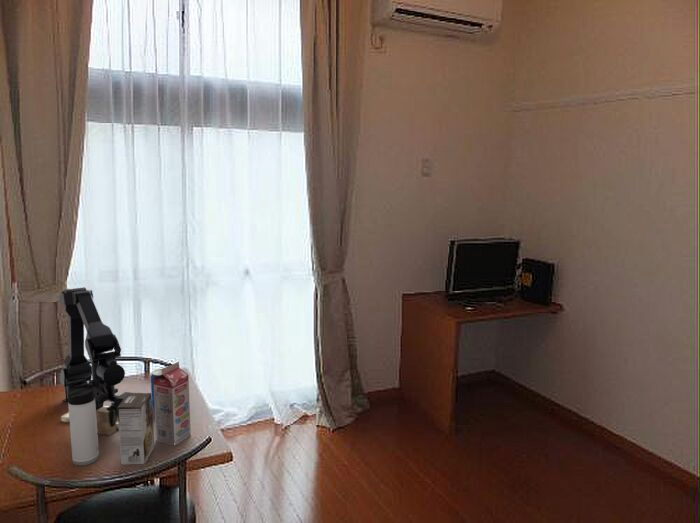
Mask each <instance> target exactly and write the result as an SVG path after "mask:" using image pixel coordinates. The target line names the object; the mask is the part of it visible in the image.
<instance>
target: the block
mask: <svg viewBox="0 0 700 523" xmlns="http://www.w3.org/2000/svg"><path fill="white" fill-rule="evenodd" d="M106 408H108V407H102V408H100V409H98V410H97V411H96V419H97V433H98V435H104V434H106V436H110V435H111V434H113V433H114V431H115V432H116V431H117V429H116V423H115V425H114V426H113V427H111V424H110V413H109V411H108V410H107V409H106Z"/></svg>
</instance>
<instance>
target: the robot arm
mask: <svg viewBox="0 0 700 523" xmlns="http://www.w3.org/2000/svg"><path fill="white" fill-rule="evenodd" d="M59 303H60V305H61V307H62V308H63V310H64V311H65V312H66V313H67V336H68V337H67V338H68V339H67V340H68V342H67V344H68V345H67V346H68V355H67V356H66V357H65V359H64V360H63V362H62V363H63V365H62V368H61V371H60V374H59V381H60V384H61V385H62V387H63V388H64V391H65V394H64V395H65V398H64V399H62V401H61V402H62V403H67V404H68V392H69V391H70V390H71V389H73V388H75V387H77V386H81V385H86V384H88V383H89V384H94V393H95V395H94V396H95V404H96V411H97V410H98V409H100V408H102V407H103V406H104V403H105V402H106V403H107V402H109V403H110V405H108V406H109V407H108V408H106V409H107V410H108V411H109V413H110V424H111V427H113V426H114V425H115V423H116V421H117V418H118V408H117V407H118V406H119V405H120V403H121V402H122V401H123V399H124V398H125V397H126V396H127V394H128V393H131V392H129V391H128V392H127V391H124V392H123V393H121V394H117V393H118V392H119V389H118V388H116V385H119V384H120V383H122V382H123V381H124V378H125V375H126V372H125V369H124V368H123V366H122V365H120V364H119V363H118V361H117V360H116V358H120V357H121V356H122V354H121V352H122V348H121V346H120V343H119V340H118V338H117V336H116V334H114V333H113V331H112V329H111V327H109V326H108V325H106V324H104V322H103V321H102V317H101V316H100V313H99V311H98V309H97V306H96V304H95V301H94V294H93V290H92V289H87V288H86V287H77V288H76V287H75V288H67V289H63V291H61V292H60V293H59ZM85 331H86V336H85ZM85 350H86V352H87V355H88V358H87V357H86V355H85ZM88 359H89V360H88ZM116 394H117V395H116Z"/></svg>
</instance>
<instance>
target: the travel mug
mask: <svg viewBox="0 0 700 523" xmlns="http://www.w3.org/2000/svg"><path fill="white" fill-rule="evenodd" d="M94 395H95V393H94V384H89V382H87V384H86V385H81V386H77V387H75V388H73V389H71V390H70V391H69V392H68V403H67V404H68V412H69V420H70V423H69V431H70V442H71V443H70V444H71V446H70V447H71V456H72V463H73V464H74V465H75V466H78V465H79V466H82V465H83V466H88V465H90V464H94V463H96V461H98V460H99V458H100V451H99V439H98V438H99V436H98V435H99V434H97V419H96V404H95V396H94Z"/></svg>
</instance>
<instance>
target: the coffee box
mask: <svg viewBox="0 0 700 523" xmlns="http://www.w3.org/2000/svg"><path fill="white" fill-rule="evenodd" d="M117 408H118V423H119V429H118V435H119V437H118V438H119V439H118V440H119V453H120V464H121V465H145V464H146V463H147V461H148V459H149V458H150V455H151V453H152V451H153V450H154V448H155V435H154V434H155V433H154V432H155V431H154V418H153V417H154V416H153V407H152V392H130V393H128V394H127V396H126V397H125V398H124V399H123V401H122V402H121V403H120V405H119V406H118V407H117Z"/></svg>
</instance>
